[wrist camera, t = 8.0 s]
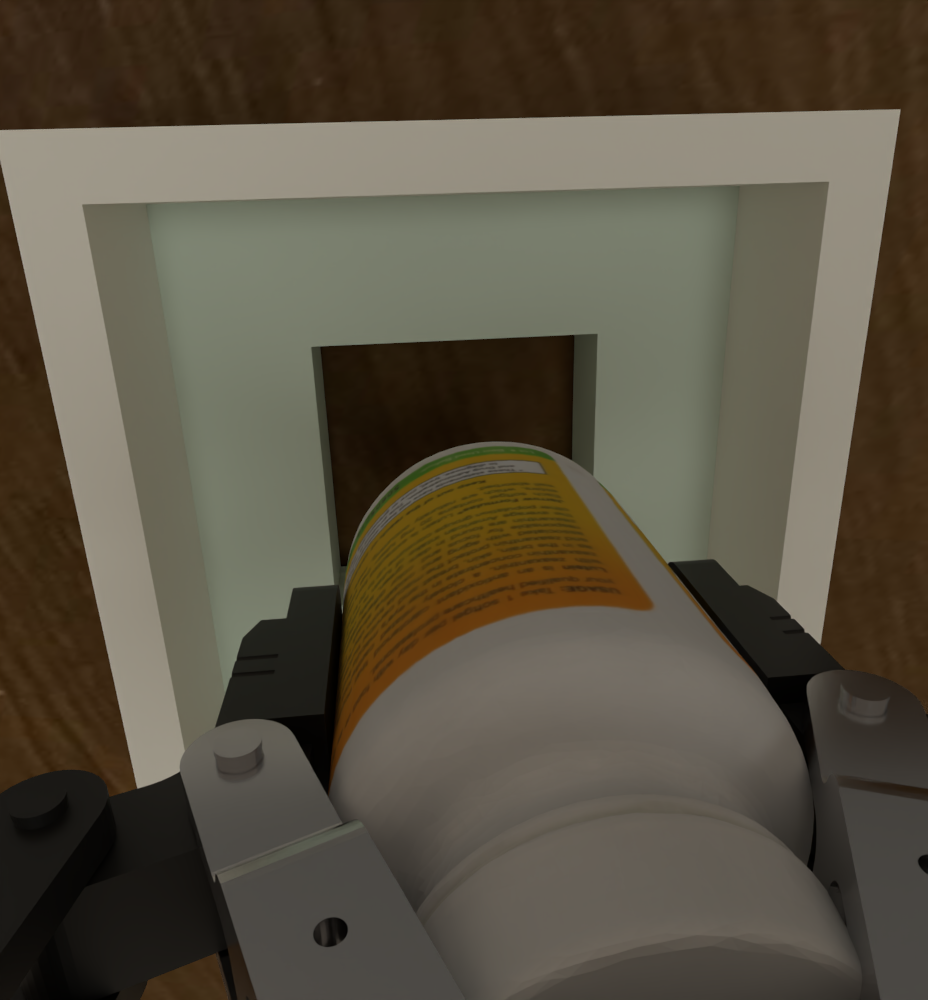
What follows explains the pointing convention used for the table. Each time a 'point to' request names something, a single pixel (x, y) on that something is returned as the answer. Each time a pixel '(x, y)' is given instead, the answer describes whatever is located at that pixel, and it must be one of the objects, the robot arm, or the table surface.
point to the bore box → (436, 317)
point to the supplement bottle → (570, 750)
